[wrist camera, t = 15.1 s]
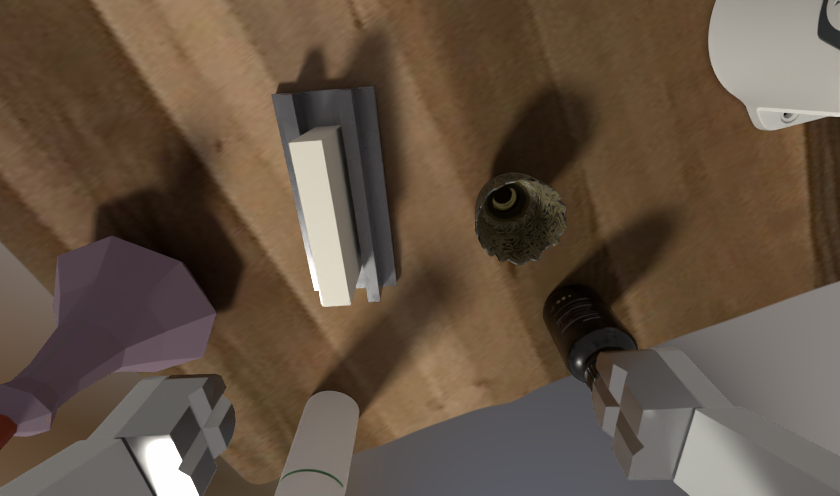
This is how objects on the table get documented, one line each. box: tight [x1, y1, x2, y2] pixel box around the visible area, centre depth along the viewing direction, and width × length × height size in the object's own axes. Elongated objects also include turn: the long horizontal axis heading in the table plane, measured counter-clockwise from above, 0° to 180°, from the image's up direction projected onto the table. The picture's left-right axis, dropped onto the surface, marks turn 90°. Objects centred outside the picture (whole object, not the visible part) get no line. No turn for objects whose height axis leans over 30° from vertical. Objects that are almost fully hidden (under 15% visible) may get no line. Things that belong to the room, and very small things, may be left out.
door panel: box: [289, 125, 363, 307], centre depth 35 cm, size 14×2×8 cm, turn 4°
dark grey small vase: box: [475, 173, 567, 265], centre depth 35 cm, size 8×7×8 cm
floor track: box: [271, 86, 397, 305], centre depth 37 cm, size 20×9×4 cm, turn 4°
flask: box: [0, 236, 216, 450], centre depth 35 cm, size 16×16×20 cm
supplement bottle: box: [543, 285, 638, 392], centre depth 39 cm, size 7×7×12 cm
